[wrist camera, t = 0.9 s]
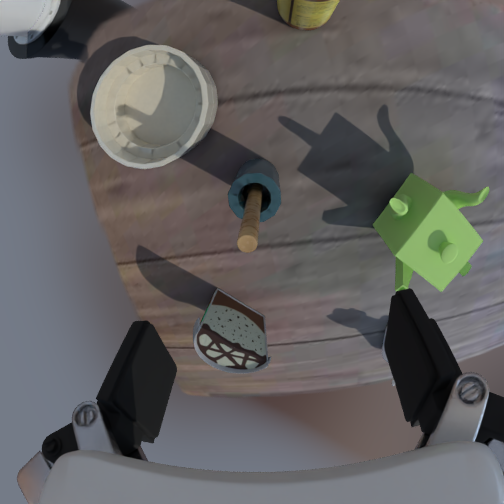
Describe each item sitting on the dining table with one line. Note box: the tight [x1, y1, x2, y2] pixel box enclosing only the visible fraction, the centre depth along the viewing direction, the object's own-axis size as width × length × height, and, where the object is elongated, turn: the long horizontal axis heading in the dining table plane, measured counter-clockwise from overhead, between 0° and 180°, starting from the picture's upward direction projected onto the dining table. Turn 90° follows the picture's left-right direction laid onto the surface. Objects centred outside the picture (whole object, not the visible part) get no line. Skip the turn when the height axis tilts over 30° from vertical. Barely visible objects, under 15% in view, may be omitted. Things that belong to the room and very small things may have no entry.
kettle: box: [373, 173, 489, 292], centre depth 30 cm, size 15×14×11 cm
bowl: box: [90, 45, 218, 169], centre depth 27 cm, size 14×14×6 cm
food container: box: [193, 288, 271, 373], centre depth 41 cm, size 12×6×10 cm, turn 53°
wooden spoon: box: [237, 183, 263, 253], centre depth 27 cm, size 1×3×17 cm, turn 140°
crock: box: [228, 159, 281, 222], centre depth 31 cm, size 5×5×8 cm
